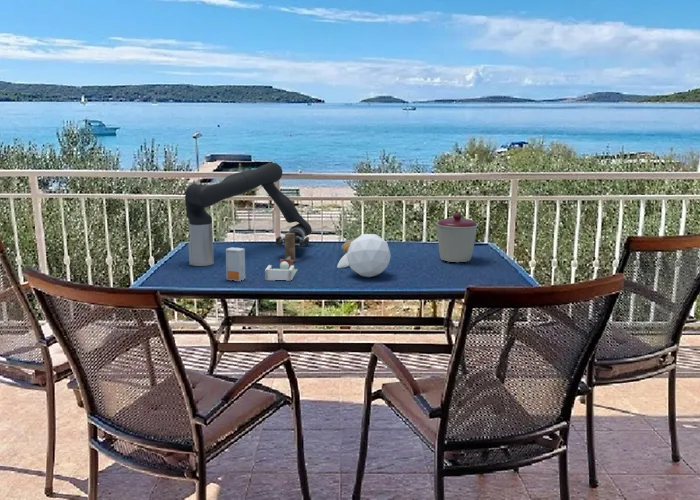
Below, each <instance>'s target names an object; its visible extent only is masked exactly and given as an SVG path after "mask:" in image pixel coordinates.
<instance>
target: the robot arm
mask: <svg viewBox="0 0 700 500" xmlns="http://www.w3.org/2000/svg"><path fill="white" fill-rule="evenodd" d="M282 176H283V168H282V167H281V165H279V164H278V163H277V162H272V161H271V162H267V163H265V164H263V165H260V166H258V167H257V168H255V169H249V170H243V171H239V172H236V173H233V174H230V175H227V176H226V177H225V178H224V179H223V180H222V181H221V182H218V183H215V184H201V183H200V184H198V183H192V184H190V185H188V186H187V188H186V190H185V194H184V200H185V201H184V203H185V212H186V217H187V219H188V227H189V242H188V258H189V260H188V262H189V266H195V267H205V266H206V267H207V266H211V265H214V263H215V262H214V258H215V257H214V239H213V218H212V216H211V215H210V214H209V213H208V212H207V211H206V210H205V208H209V207H212V206H214V205H215V204H217V203H219V202H221V201H223V200H227V199H229V198H233V197H237V196H239V195H243V194H245V193H248V192H249V191H253V190H254V189H256V188H258V187H260V186H261V187H262V188H263V189H264V190H265V192H266V193H267V194H268V195H269V197H270V198H271V200H272V201H273V202H274V203H275V205H276V206H277V207H278V209H279V211H280V212H281V215H283V217H284V219H285V221H286V223H288V224H293V223H298V224H295V225H293V226H291V227H290V228H289V232H288V233H295V248H297V247H303V246H309V245H310V237H309V235H311V234H312V225H310V224H309V222H308V221H307V220H306V219H305V218H304V217H302V215H301V214H300V213H299V211H298V209H297V207H296V205H295V204H294V202H293V200H291V198H289V197H288V196H287V195H285V194H284V193H283V192H282V191H281V190H279V188H278V187H277V186H276V184H275V183H276V182H278V181H280V180H281V178H282ZM275 245H278V246H279V247H282V246H283V245H284V246H285V236H283V237H282V236H280V235H279V236H278V237H277V238H275Z"/></svg>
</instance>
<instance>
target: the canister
mask: <svg viewBox="0 0 700 500" xmlns="http://www.w3.org/2000/svg"><path fill="white" fill-rule="evenodd" d="M462 216H463V215H462V213H461V212H455V213H454V214H453V217H452V218H451V217H450V218H449V217H447V218H442V219H439V220H438V221H436V222H435V225H436V228H437V241H438V243H437V244H438V254H439V257H440V260H442V261H443V260H445V261H450V262H466V261H468V262H469V261H470V260H471V259H472V257H473V251H474V247H475V241H476V235H477V229H478V227H479V223H477V222H476V221H475V220H472V219H468V218H463V217H462ZM445 261H444V262H445ZM466 263H467V262H466Z"/></svg>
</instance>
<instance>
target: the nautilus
mask: <svg viewBox="0 0 700 500" xmlns="http://www.w3.org/2000/svg"><path fill="white" fill-rule="evenodd" d="M355 239H356V238H351V239H349V240H346V241H345V242H344V243H343V244H342V245H341V250H342V251H343V252H344V253H345V254H346V253H347V252H348V249H349V246H350V244H351V242H352V241H354V240H355Z"/></svg>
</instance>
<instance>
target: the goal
mask: <svg viewBox="0 0 700 500" xmlns="http://www.w3.org/2000/svg"><path fill="white" fill-rule="evenodd" d="M279 269H280V268H274V269H273V265H272V264H268V265H267V267H266V268H265V269H264V281H275V280H286V281H285V282H289V281H290V282H291V280H292V281H293V278H294V277H295V275H294V269H295V265H293V266H291V267H290V268H288V269H289V270H279Z"/></svg>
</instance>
